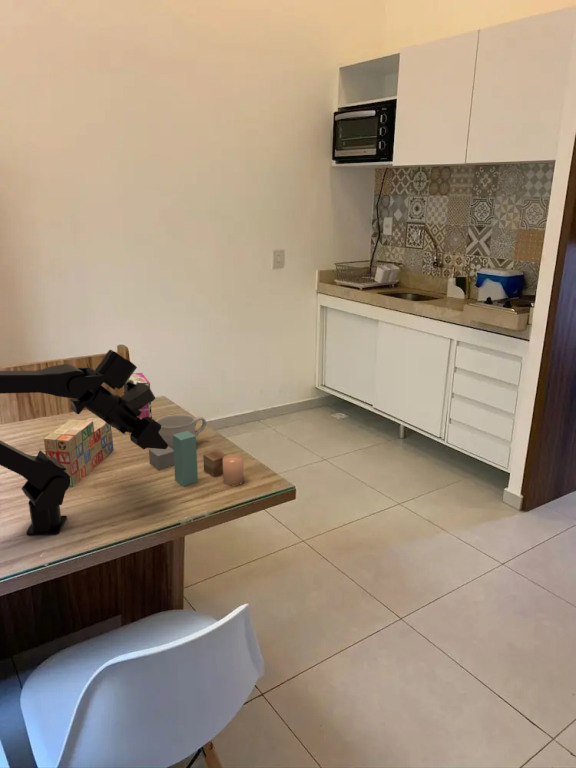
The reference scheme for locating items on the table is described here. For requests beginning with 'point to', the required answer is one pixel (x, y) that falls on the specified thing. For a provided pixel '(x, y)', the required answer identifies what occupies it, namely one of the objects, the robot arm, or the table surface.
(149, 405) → the candy bar box
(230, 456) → the peach rounded cylinder
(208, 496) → the table surface
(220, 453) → the walnut cube
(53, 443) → the stack of blocks
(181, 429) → the teacup
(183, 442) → the teal block
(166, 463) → the gray block
